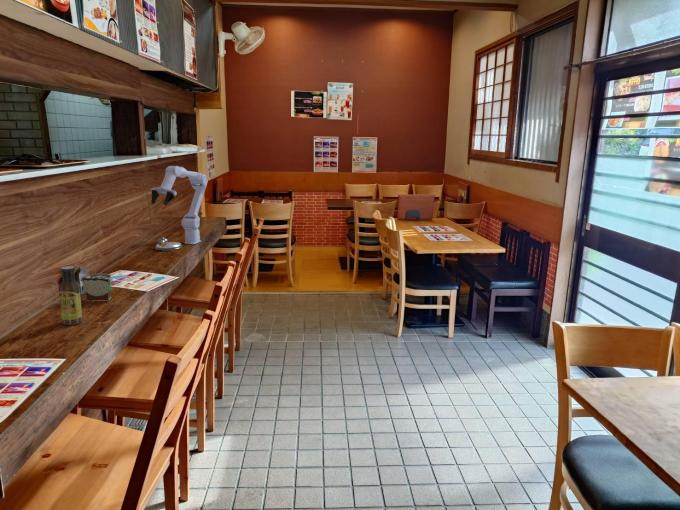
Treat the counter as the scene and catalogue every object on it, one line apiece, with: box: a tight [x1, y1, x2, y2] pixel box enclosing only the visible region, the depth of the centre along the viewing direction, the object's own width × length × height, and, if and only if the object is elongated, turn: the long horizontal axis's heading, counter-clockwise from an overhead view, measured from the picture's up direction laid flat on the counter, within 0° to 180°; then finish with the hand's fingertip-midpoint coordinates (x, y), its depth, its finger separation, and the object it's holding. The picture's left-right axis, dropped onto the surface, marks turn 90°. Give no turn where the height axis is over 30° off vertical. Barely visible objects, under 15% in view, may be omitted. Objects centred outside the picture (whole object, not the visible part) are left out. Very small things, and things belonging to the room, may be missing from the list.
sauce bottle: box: [58, 265, 83, 326], centre depth 163 cm, size 6×6×20 cm
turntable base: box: [154, 244, 183, 252], centre depth 283 cm, size 15×15×1 cm
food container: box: [80, 272, 114, 301], centre depth 190 cm, size 12×6×10 cm, turn 84°
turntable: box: [155, 240, 182, 249], centre depth 282 cm, size 14×14×5 cm
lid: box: [158, 237, 169, 245], centre depth 282 cm, size 5×5×4 cm
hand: (158, 203), depth 267 cm, fingers open, 7 cm apart
